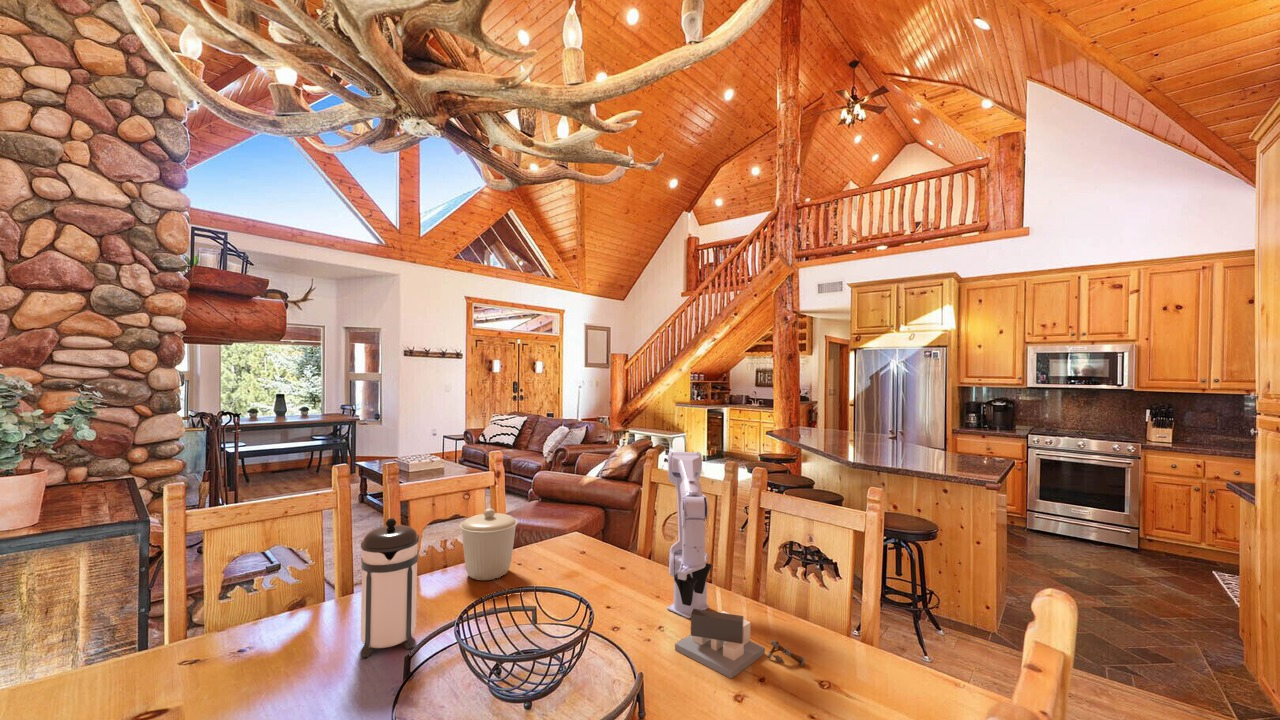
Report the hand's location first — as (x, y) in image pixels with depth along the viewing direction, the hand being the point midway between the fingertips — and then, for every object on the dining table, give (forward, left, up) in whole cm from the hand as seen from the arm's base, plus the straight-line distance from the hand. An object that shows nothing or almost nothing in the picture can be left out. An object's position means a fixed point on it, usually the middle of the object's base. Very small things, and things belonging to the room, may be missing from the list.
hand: (692, 598), depth 130 cm
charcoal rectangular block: (+2, +9, -5) cm, 11 cm away
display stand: (+1, +9, -9) cm, 13 cm away
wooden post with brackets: (-6, +23, -10) cm, 25 cm away
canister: (+17, -70, -10) cm, 73 cm away
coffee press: (+55, -51, -10) cm, 76 cm away
